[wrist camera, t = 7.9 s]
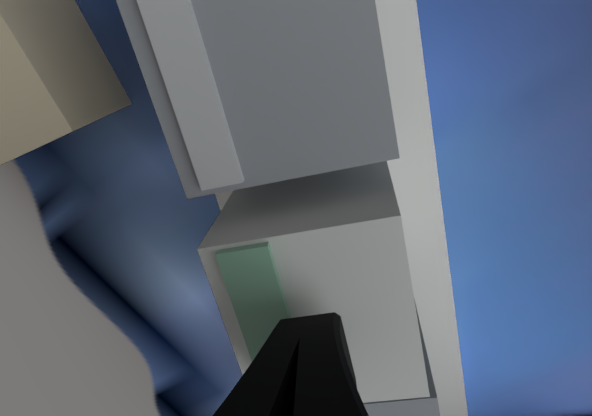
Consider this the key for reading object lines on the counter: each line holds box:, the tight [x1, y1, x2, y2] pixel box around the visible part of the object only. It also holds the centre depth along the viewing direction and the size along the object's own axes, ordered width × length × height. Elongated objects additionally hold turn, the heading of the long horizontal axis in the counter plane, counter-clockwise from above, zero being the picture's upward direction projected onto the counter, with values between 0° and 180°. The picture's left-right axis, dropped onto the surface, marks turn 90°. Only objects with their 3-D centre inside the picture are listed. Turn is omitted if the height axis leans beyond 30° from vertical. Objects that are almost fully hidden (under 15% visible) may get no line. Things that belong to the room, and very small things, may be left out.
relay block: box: [0, 0, 132, 165], centre depth 14 cm, size 4×4×4 cm
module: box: [197, 161, 430, 403], centre depth 13 cm, size 5×4×6 cm
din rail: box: [116, 0, 468, 416], centre depth 14 cm, size 22×8×6 cm, turn 14°
